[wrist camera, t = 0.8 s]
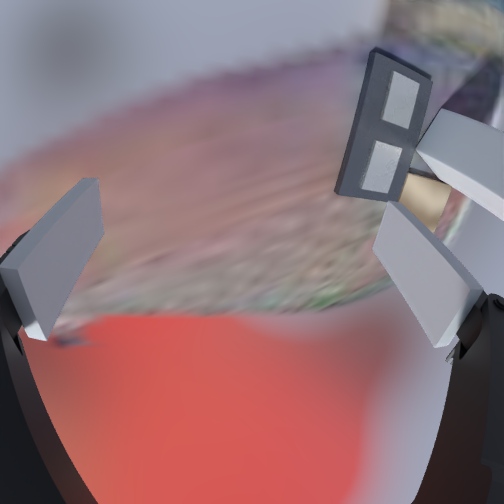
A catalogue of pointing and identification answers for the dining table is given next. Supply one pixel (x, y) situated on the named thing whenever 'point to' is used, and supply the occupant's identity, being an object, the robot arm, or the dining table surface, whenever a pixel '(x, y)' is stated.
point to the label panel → (384, 131)
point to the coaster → (425, 198)
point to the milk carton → (467, 158)
